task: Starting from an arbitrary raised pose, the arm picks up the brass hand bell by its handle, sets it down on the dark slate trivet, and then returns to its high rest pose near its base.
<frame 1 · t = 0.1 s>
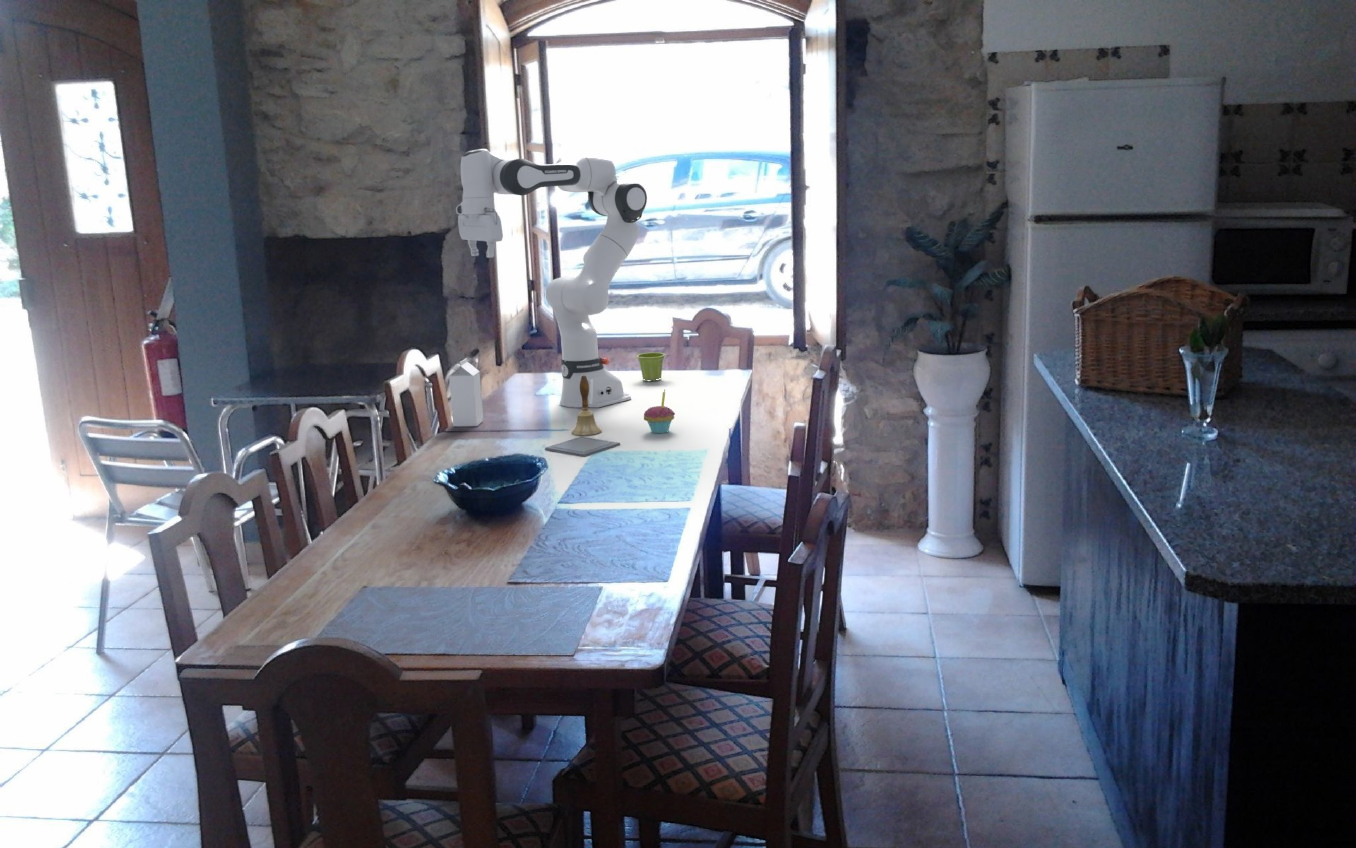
hand: (482, 256, 334), 48 cm above the table, tool pointing down, fingers open, 8 cm apart
plant pot: (652, 380, 395), on the table
trivet: (582, 447, 307), on the table
hand bell: (586, 433, 324), on the table
milk carton: (468, 424, 340), on the table
cupcake: (659, 432, 322), on the table
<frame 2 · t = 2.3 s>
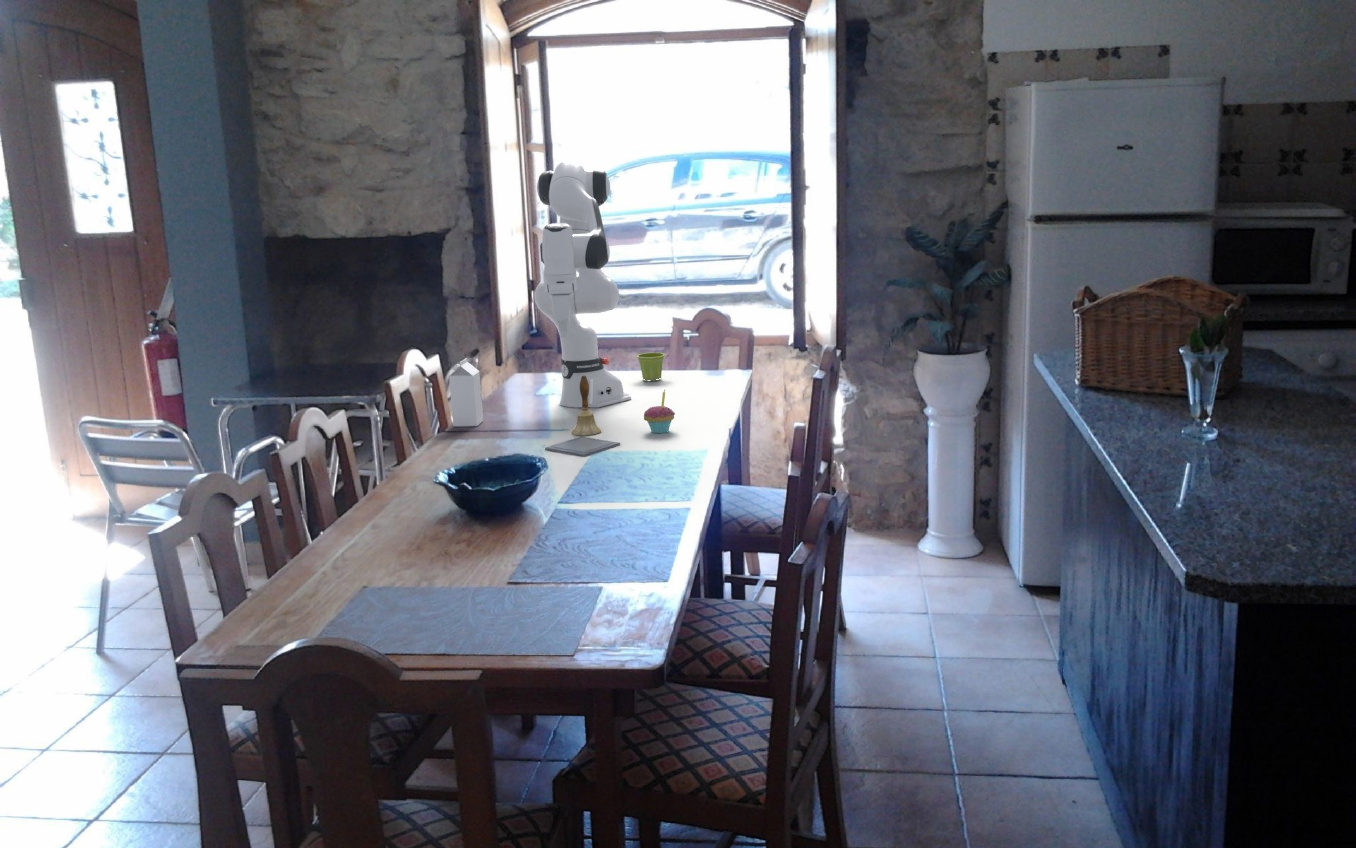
hand: (563, 334, 318), 28 cm above the table, tool pointing down, fingers open, 8 cm apart
nothing on the table moved.
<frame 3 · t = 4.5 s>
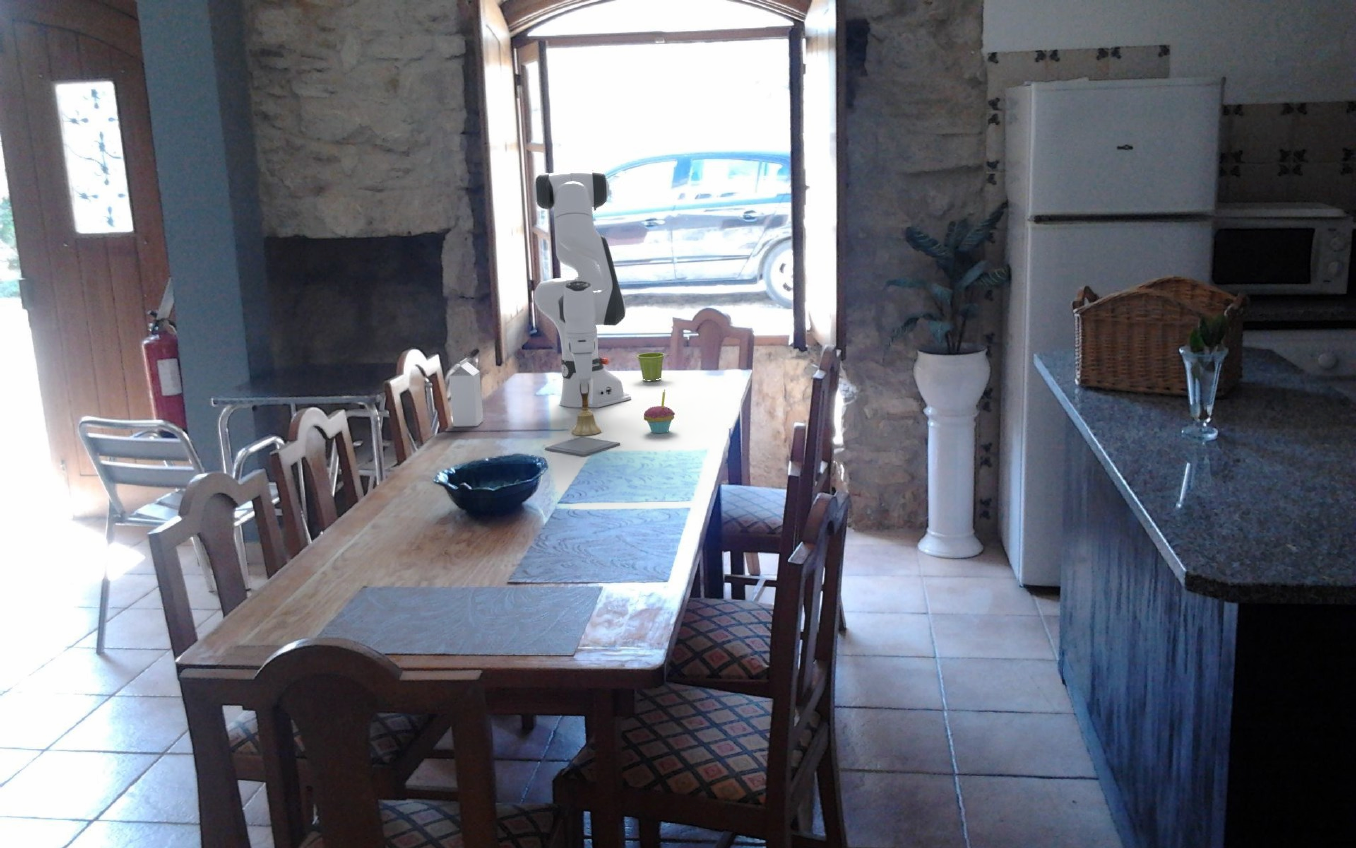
hand: (584, 391, 321), 12 cm above the table, tool pointing down, fingers open, 3 cm apart
hand bell: (586, 433, 324), on the table, touching gripper
everything else where it was.
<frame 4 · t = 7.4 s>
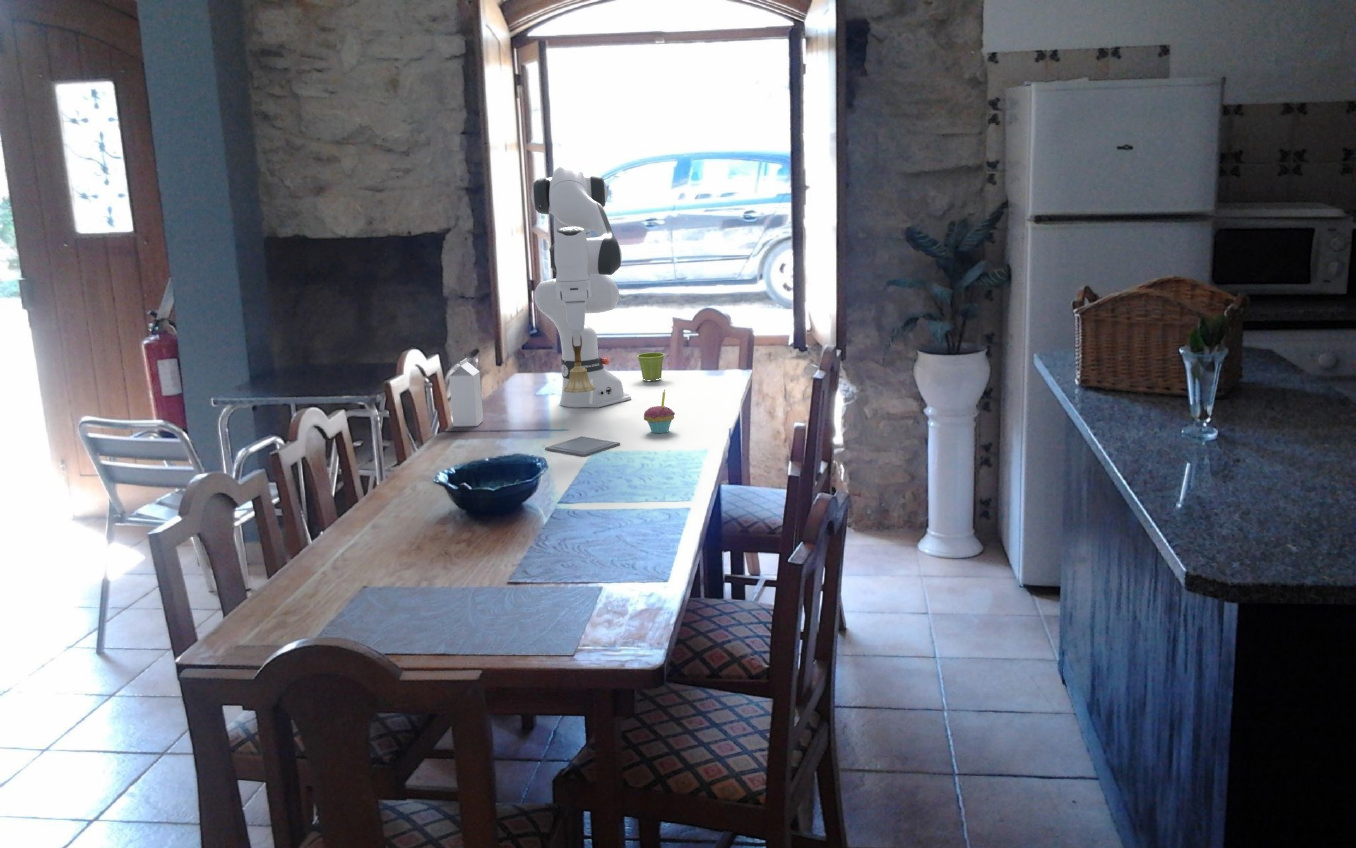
hand: (576, 344, 301), 27 cm above the table, tool pointing down, fingers closed on hand bell, 3 cm apart
hand bell: (579, 390, 304), point 15 cm above the table, touching gripper
everything else where it was.
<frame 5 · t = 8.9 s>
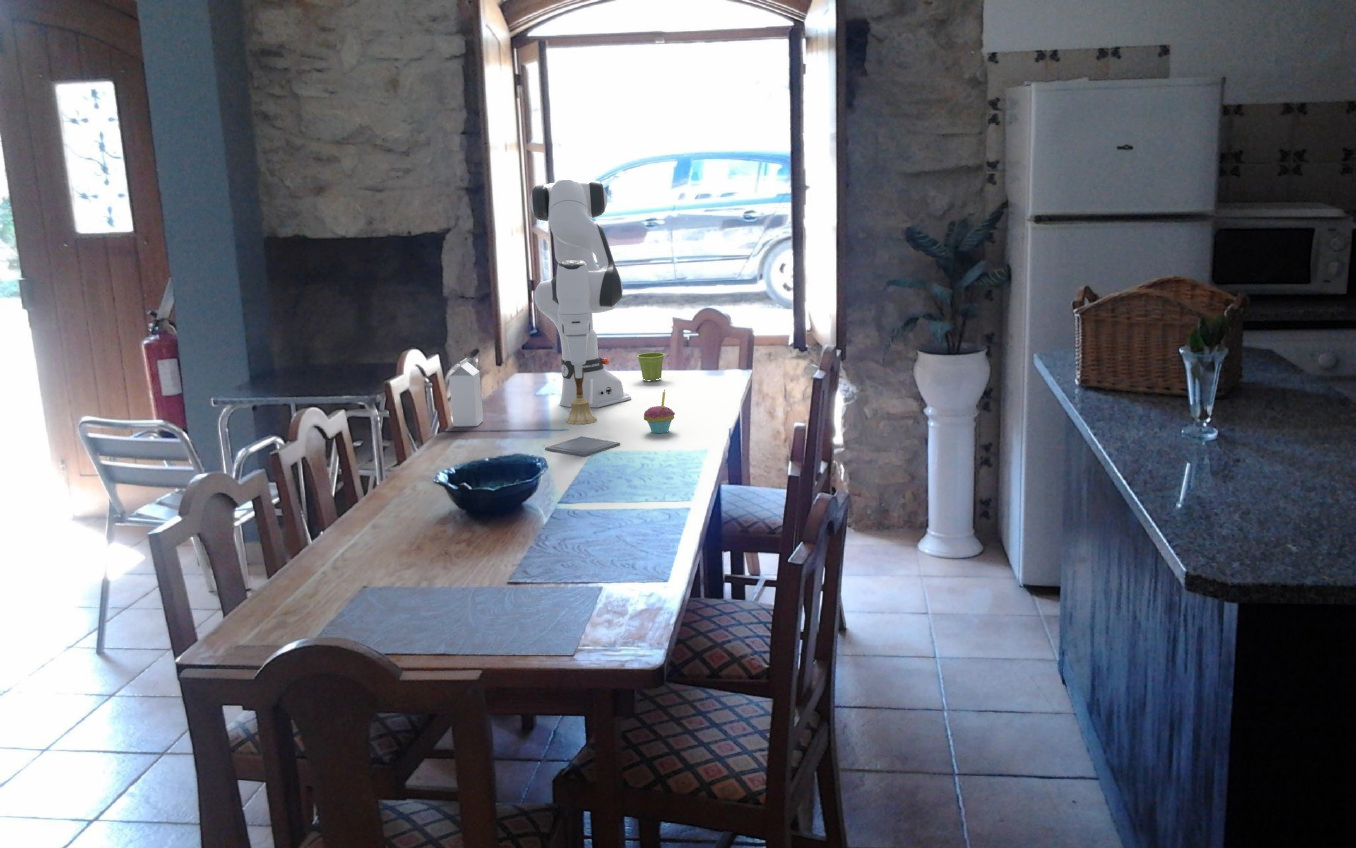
hand: (578, 376, 303), 19 cm above the table, tool pointing down, fingers closed on hand bell, 3 cm apart
hand bell: (581, 422, 306), point 7 cm above the table, touching gripper
everything else where it was.
when the fingers open (14 cm above the table, at t = 10.2 s): hand bell stays where it is, resting on trivet.
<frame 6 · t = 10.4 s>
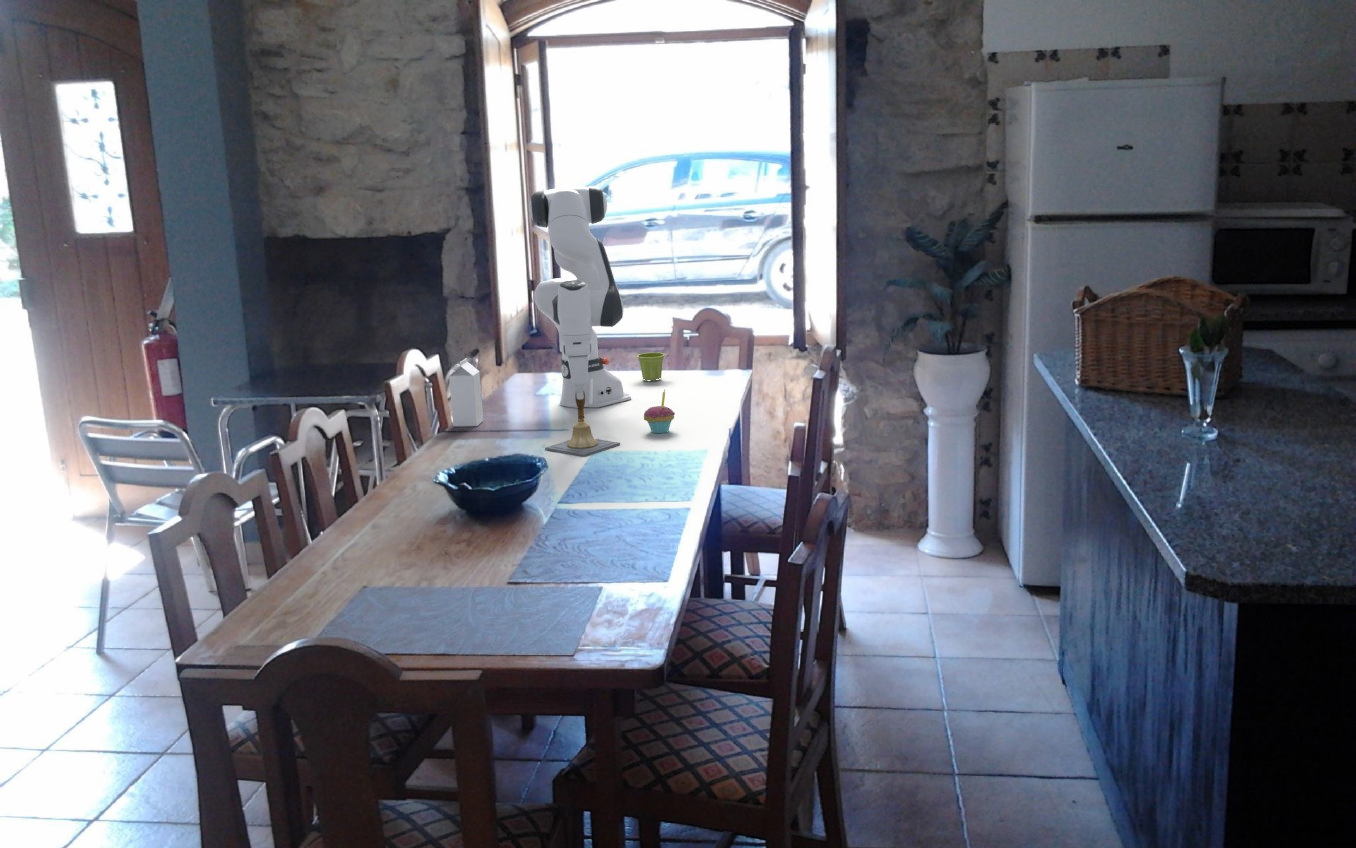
hand: (579, 396, 304), 14 cm above the table, tool pointing down, fingers open, 5 cm apart
hand bell: (582, 445, 307), resting on trivet
everything else where it was.
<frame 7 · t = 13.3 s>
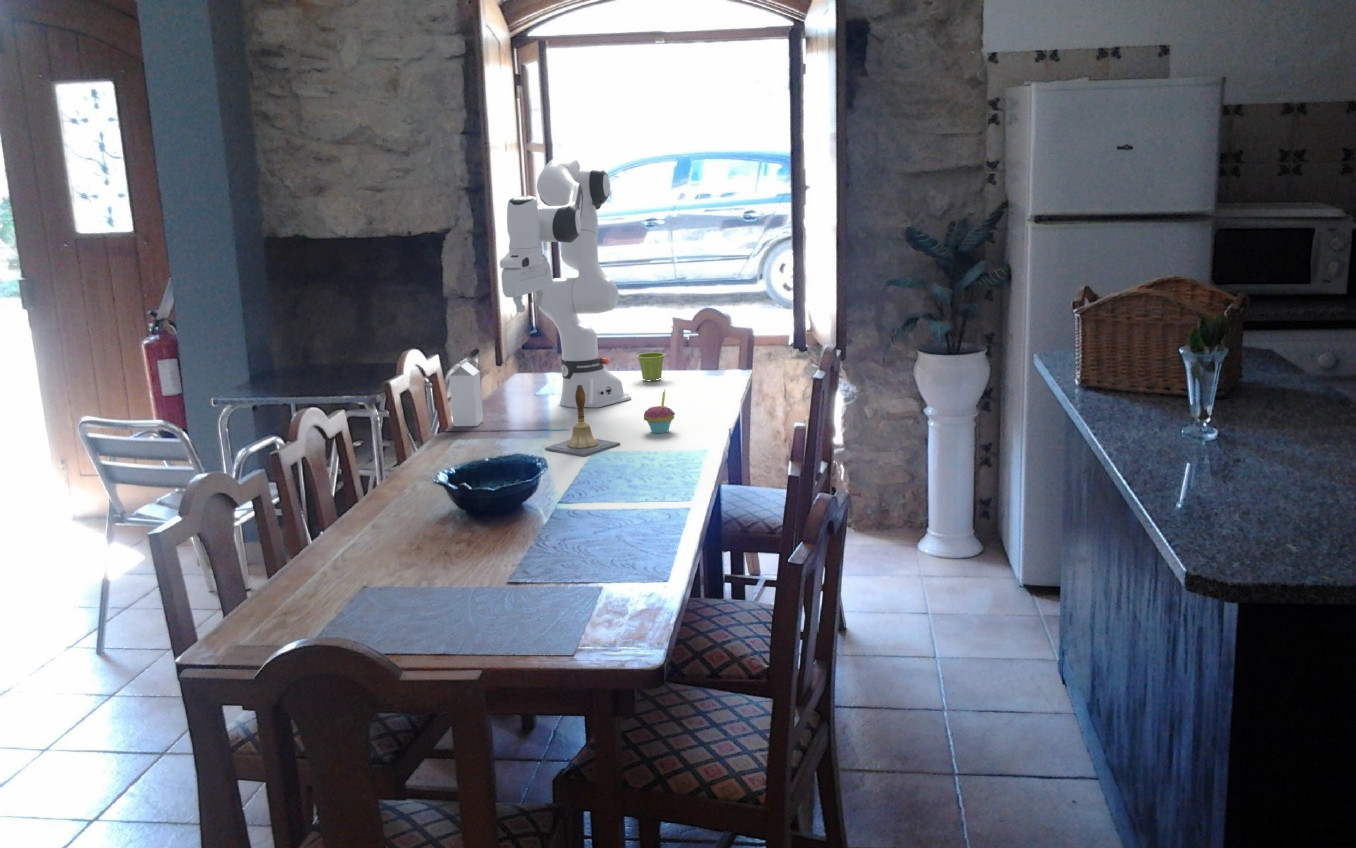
hand: (530, 309, 315), 35 cm above the table, tool pointing down, fingers open, 8 cm apart
nothing on the table moved.
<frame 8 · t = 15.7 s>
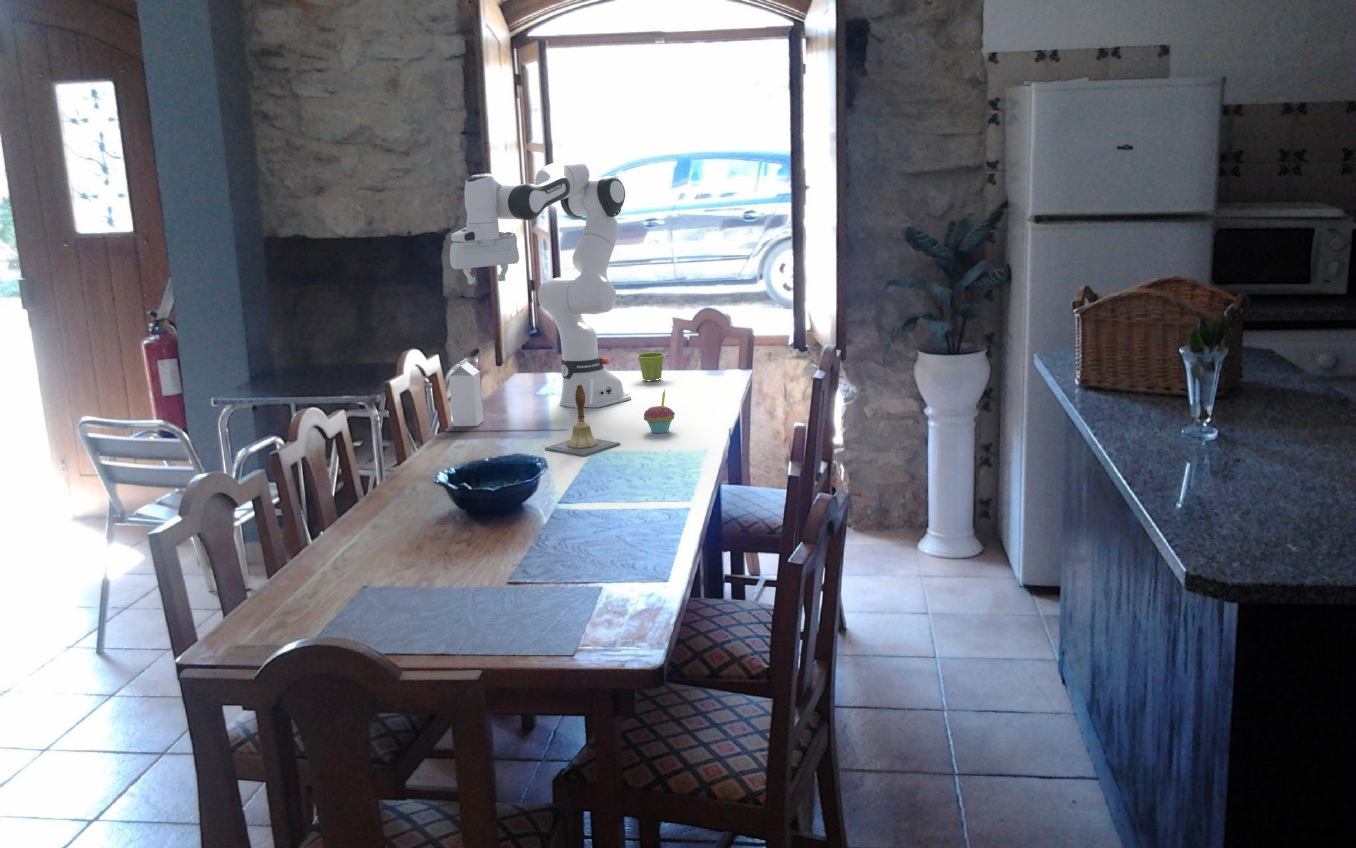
hand: (486, 282, 329), 41 cm above the table, tool pointing down, fingers open, 8 cm apart
nothing on the table moved.
at the end: hand bell 0.2 cm from the trivet (horizontally); hand bell tilted 0°; the gripper is holding nothing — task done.
